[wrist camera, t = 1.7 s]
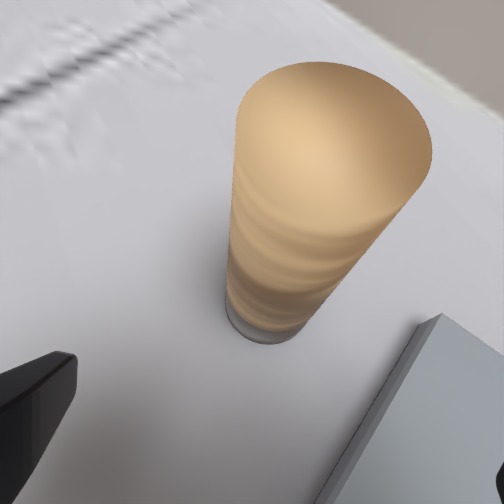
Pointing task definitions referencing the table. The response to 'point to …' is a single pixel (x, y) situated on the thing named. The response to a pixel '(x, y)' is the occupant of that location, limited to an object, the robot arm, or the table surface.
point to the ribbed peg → (314, 188)
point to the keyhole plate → (429, 427)
